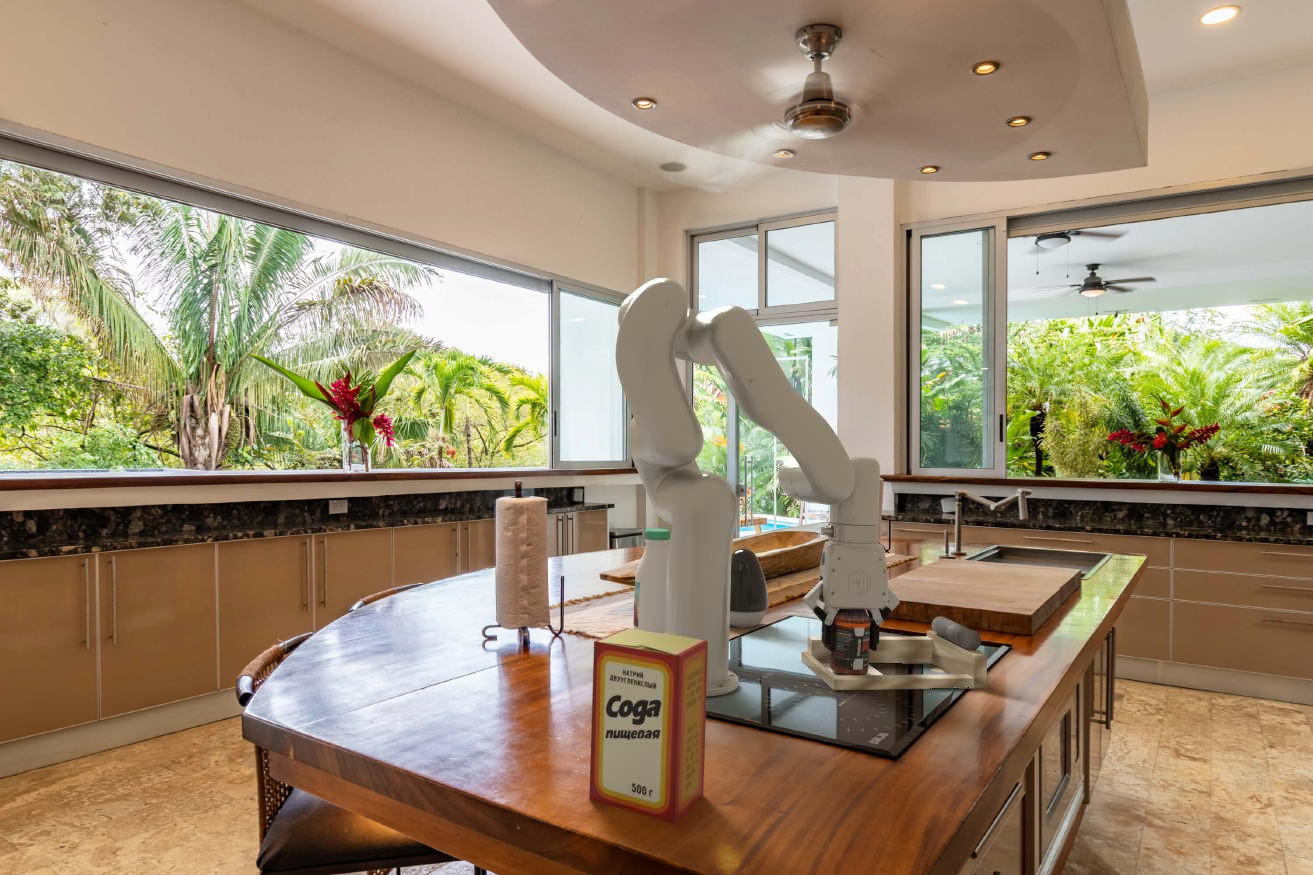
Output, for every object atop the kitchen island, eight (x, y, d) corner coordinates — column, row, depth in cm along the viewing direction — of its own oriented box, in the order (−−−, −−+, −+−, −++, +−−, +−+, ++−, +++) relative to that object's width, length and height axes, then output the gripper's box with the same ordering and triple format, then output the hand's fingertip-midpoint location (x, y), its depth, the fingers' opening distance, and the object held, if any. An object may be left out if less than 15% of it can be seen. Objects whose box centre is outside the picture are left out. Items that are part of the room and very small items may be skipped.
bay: (833, 689, 112) (835, 635, 112) (801, 660, 127) (802, 612, 127) (989, 687, 115) (990, 635, 115) (940, 659, 130) (941, 612, 130)
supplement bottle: (869, 678, 116) (872, 604, 117) (829, 674, 118) (832, 601, 118) (867, 667, 122) (869, 597, 122) (829, 664, 123) (831, 594, 124)
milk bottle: (683, 639, 138) (686, 529, 138) (661, 648, 132) (664, 533, 132) (648, 632, 142) (651, 526, 143) (624, 641, 136) (627, 529, 136)
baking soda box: (589, 798, 75) (594, 637, 76) (622, 774, 81) (626, 624, 81) (674, 823, 71) (679, 651, 71) (703, 795, 77) (707, 637, 77)
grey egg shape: (716, 617, 157) (718, 543, 157) (767, 620, 156) (769, 546, 156) (713, 628, 147) (715, 550, 147) (767, 632, 146) (770, 552, 146)
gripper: (808, 536, 115) (804, 655, 115) (916, 538, 118) (912, 655, 117) (793, 530, 123) (789, 642, 123) (895, 532, 125) (891, 642, 125)
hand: (850, 647), depth 120 cm, fingers open, 6 cm apart
